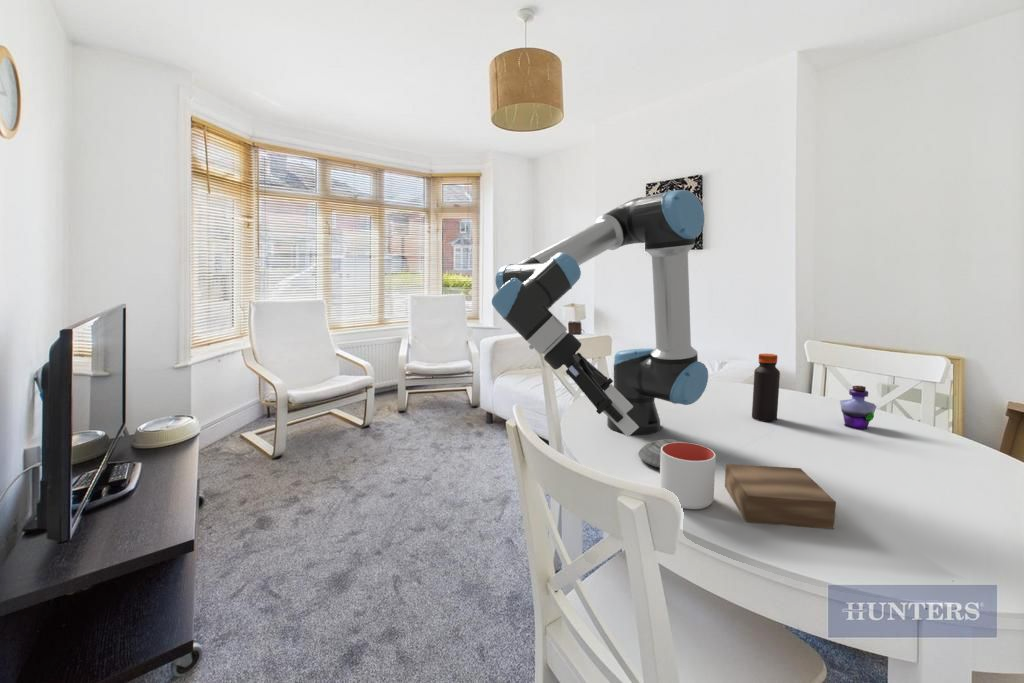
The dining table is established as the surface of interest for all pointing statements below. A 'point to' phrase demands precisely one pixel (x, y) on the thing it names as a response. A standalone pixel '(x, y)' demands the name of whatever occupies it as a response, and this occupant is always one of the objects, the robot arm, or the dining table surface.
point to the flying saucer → (654, 451)
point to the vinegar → (766, 389)
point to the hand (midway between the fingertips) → (630, 420)
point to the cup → (688, 473)
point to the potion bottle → (857, 409)
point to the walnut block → (779, 496)
